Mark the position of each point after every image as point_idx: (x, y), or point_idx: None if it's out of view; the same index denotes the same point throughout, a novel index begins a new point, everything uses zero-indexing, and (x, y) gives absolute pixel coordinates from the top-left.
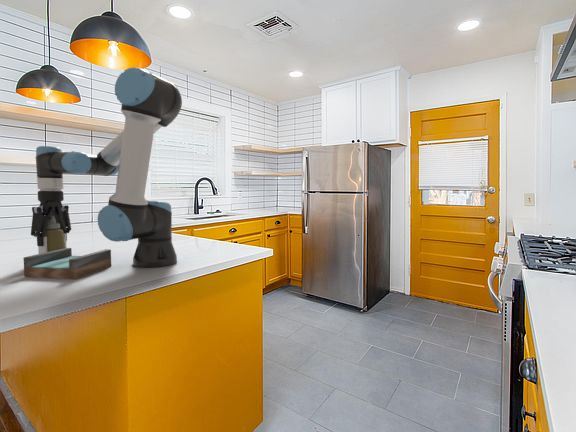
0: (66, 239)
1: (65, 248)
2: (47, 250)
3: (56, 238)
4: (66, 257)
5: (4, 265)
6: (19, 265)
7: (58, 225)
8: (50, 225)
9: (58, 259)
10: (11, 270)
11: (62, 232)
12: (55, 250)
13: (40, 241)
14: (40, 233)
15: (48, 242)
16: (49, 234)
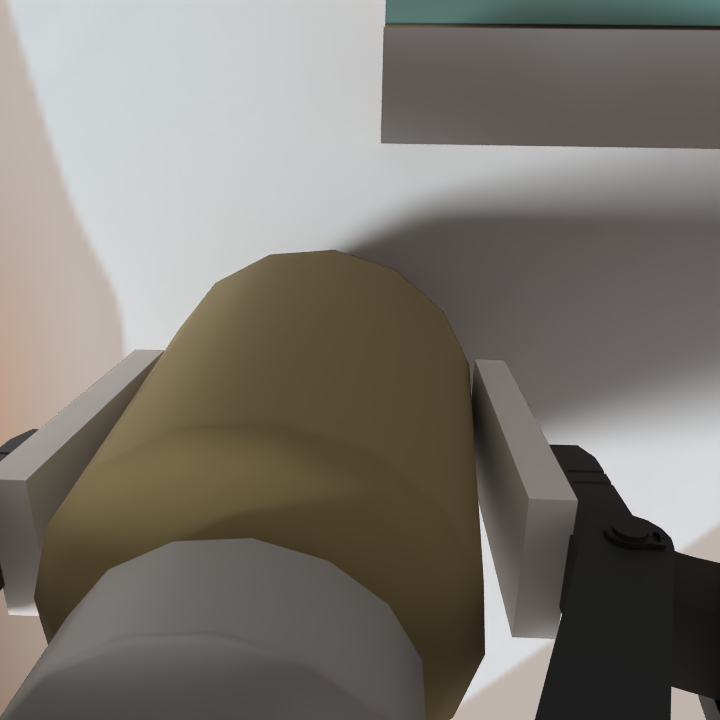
0: (16, 442)
1: (440, 108)
2: (468, 390)
3: (387, 370)
4: (539, 10)
5: (498, 677)
6: (487, 571)
7: (174, 599)
8: (402, 712)
9: (694, 18)
10: (693, 487)
11: (181, 408)
12: (650, 133)
13: (612, 494)
14: (680, 598)
15: (469, 436)
16: (462, 514)
